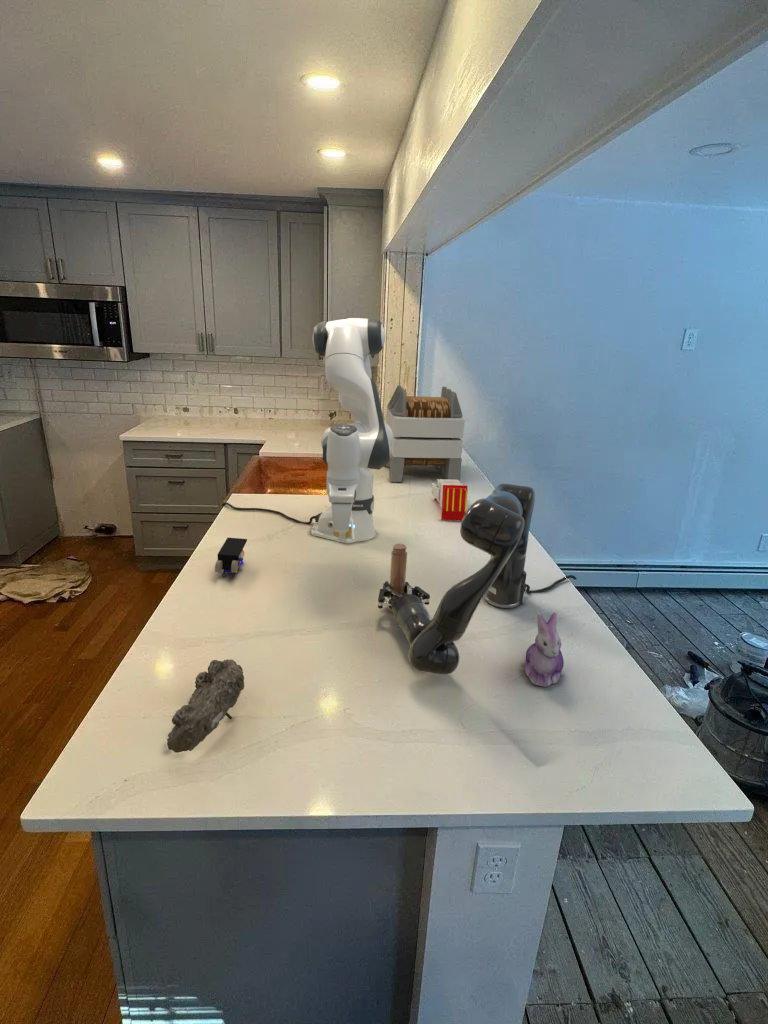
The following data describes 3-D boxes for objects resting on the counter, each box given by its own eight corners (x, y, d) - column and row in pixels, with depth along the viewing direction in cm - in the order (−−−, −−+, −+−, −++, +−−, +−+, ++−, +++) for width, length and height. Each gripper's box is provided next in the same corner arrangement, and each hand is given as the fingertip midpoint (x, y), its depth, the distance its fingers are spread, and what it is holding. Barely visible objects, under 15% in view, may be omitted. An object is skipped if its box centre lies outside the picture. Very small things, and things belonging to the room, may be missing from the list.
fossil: (192, 660, 117) (244, 628, 112) (224, 691, 120) (276, 661, 115) (142, 746, 98) (202, 712, 93) (182, 779, 101) (242, 748, 96)
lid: (335, 531, 157) (336, 524, 156) (353, 532, 156) (353, 525, 156) (331, 537, 152) (331, 530, 152) (349, 539, 152) (349, 531, 151)
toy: (459, 475, 239) (472, 486, 210) (457, 506, 242) (469, 522, 212) (430, 474, 239) (439, 485, 209) (429, 505, 241) (437, 521, 212)
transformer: (382, 463, 289) (386, 382, 275) (445, 464, 293) (451, 384, 279) (390, 482, 257) (394, 392, 243) (460, 483, 261) (468, 394, 247)
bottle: (396, 614, 147) (400, 550, 141) (385, 609, 150) (388, 545, 143) (406, 609, 150) (410, 546, 144) (395, 603, 152) (399, 541, 146)
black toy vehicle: (238, 584, 162) (249, 557, 175) (236, 562, 158) (247, 536, 172) (215, 584, 161) (227, 556, 175) (212, 561, 158) (225, 535, 171)
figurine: (543, 694, 119) (553, 631, 114) (511, 667, 127) (519, 608, 122) (576, 682, 123) (587, 622, 118) (543, 657, 131) (552, 600, 126)
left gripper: (333, 476, 159) (333, 522, 164) (328, 498, 140) (328, 549, 145) (355, 476, 160) (355, 522, 164) (354, 498, 140) (353, 550, 145)
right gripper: (442, 600, 135) (421, 569, 151) (384, 604, 132) (368, 572, 147) (439, 627, 138) (419, 594, 153) (382, 632, 134) (367, 598, 150)
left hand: (342, 535), depth 154 cm, fingers closed on lid, 4 cm apart
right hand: (394, 584), depth 150 cm, fingers closed on bottle, 4 cm apart
